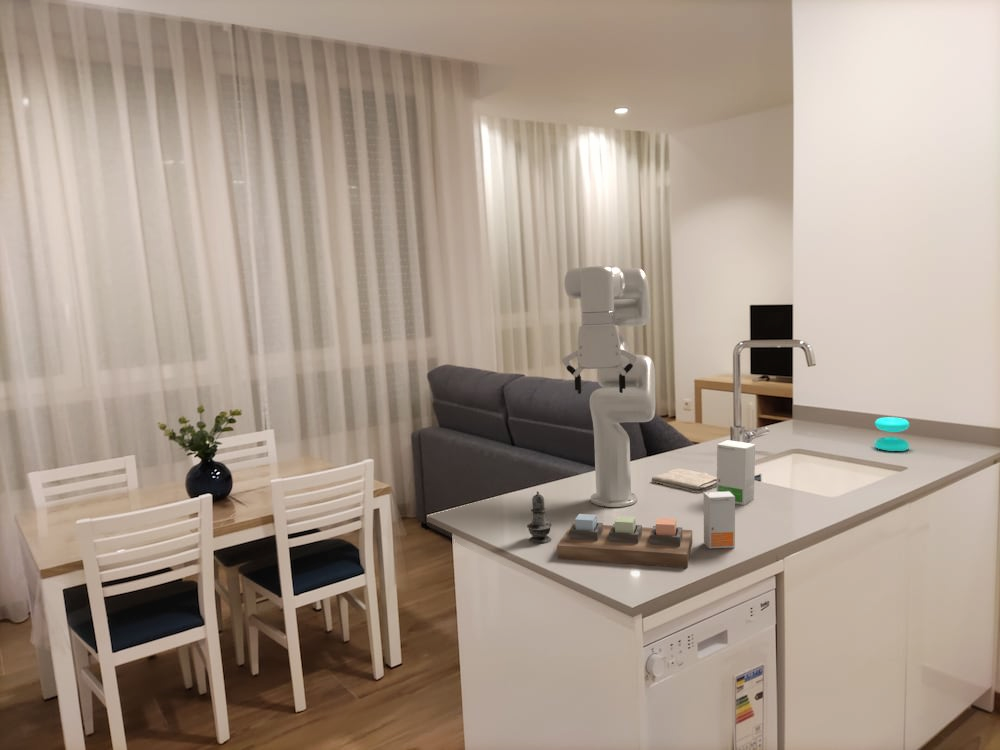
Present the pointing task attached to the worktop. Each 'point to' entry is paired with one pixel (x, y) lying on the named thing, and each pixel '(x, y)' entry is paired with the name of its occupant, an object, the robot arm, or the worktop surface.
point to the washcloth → (687, 480)
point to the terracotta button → (666, 527)
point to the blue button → (585, 522)
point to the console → (626, 546)
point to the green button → (625, 524)
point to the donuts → (892, 426)
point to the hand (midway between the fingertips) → (600, 392)
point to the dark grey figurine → (539, 522)
